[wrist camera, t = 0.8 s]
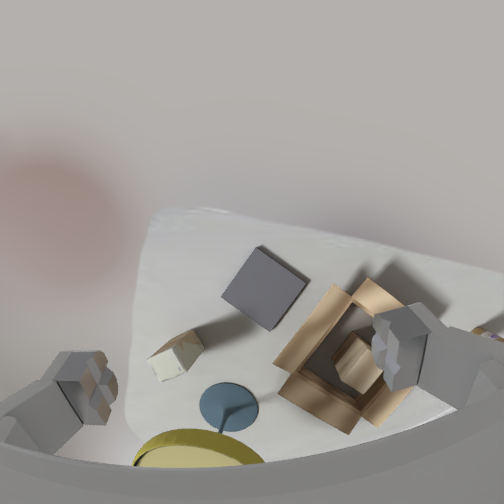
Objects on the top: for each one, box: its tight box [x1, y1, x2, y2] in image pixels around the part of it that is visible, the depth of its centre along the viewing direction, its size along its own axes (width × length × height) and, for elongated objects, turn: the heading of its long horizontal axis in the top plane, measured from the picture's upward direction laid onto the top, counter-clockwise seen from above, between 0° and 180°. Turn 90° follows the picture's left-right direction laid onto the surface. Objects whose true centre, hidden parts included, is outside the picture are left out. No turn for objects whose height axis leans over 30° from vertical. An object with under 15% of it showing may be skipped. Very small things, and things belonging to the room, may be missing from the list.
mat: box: [221, 248, 306, 332], centre depth 52 cm, size 10×10×1 cm
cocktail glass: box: [132, 383, 265, 468], centre depth 41 cm, size 18×18×25 cm
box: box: [147, 329, 204, 383], centre depth 49 cm, size 5×4×11 cm
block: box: [331, 331, 383, 394], centre depth 47 cm, size 4×6×10 cm
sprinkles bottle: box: [471, 328, 504, 343], centre depth 43 cm, size 5×5×13 cm
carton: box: [273, 277, 414, 435], centre depth 48 cm, size 23×23×6 cm
